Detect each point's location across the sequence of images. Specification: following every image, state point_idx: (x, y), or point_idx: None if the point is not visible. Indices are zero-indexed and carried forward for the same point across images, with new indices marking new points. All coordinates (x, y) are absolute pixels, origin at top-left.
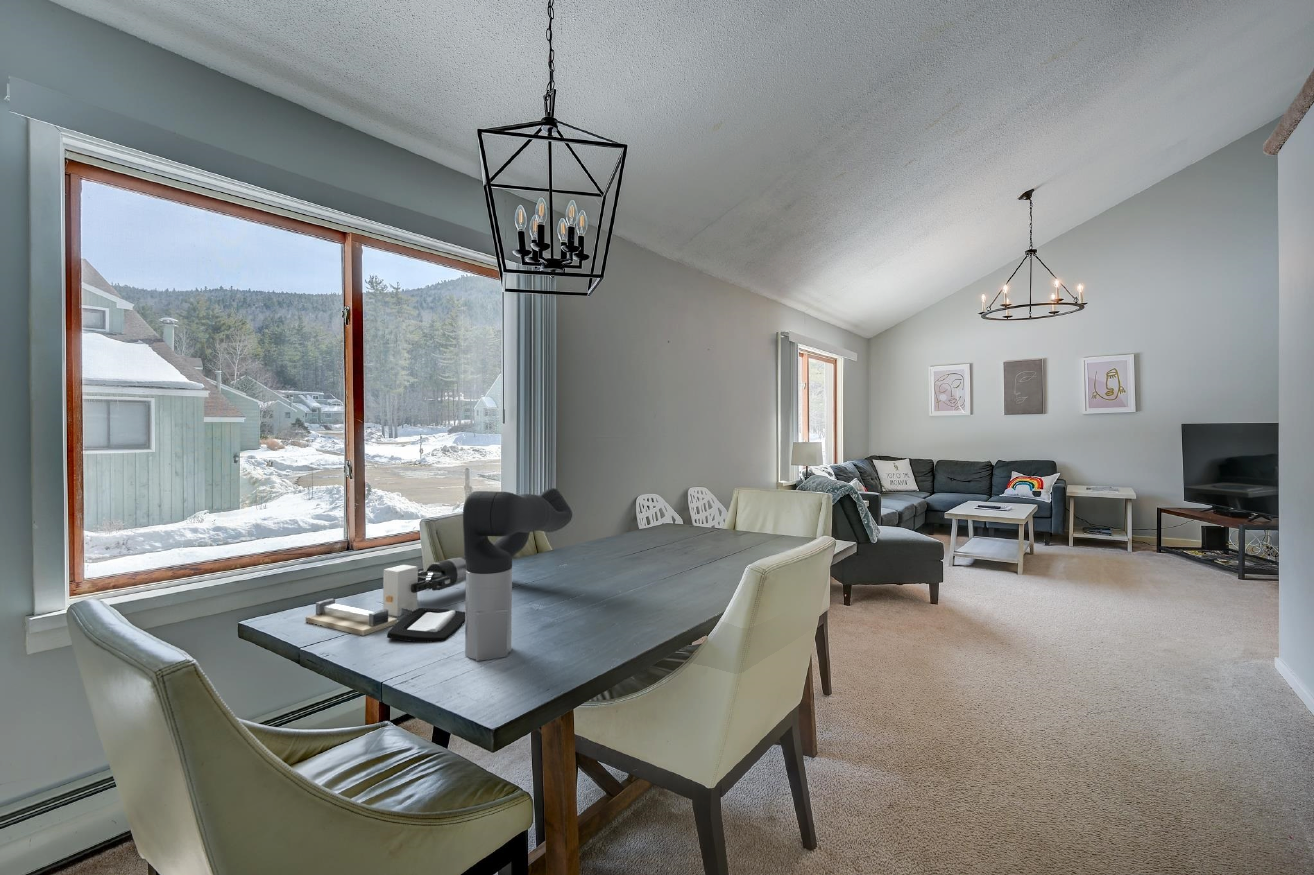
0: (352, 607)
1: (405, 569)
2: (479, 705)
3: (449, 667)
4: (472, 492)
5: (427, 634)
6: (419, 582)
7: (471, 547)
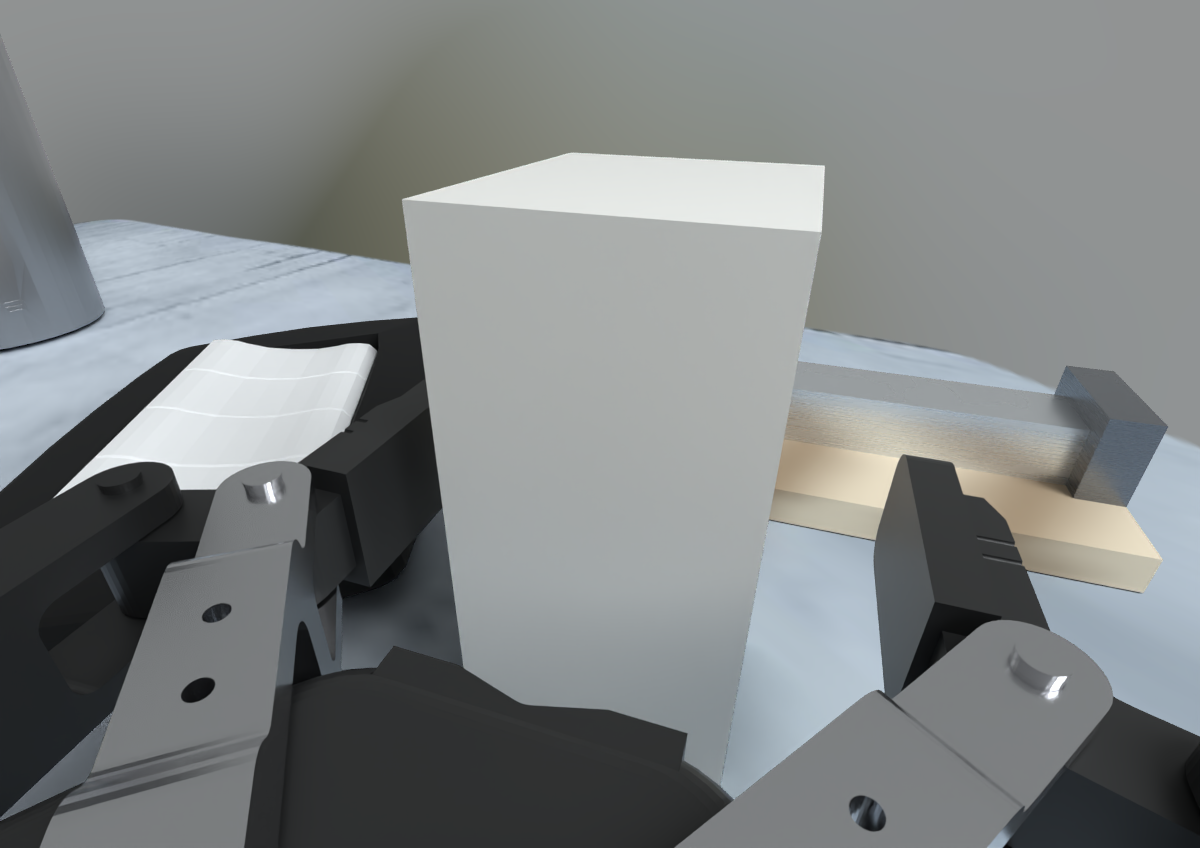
0: (834, 393)
1: (536, 167)
2: (123, 234)
3: (174, 283)
4: None
5: (253, 341)
6: (382, 420)
7: None
